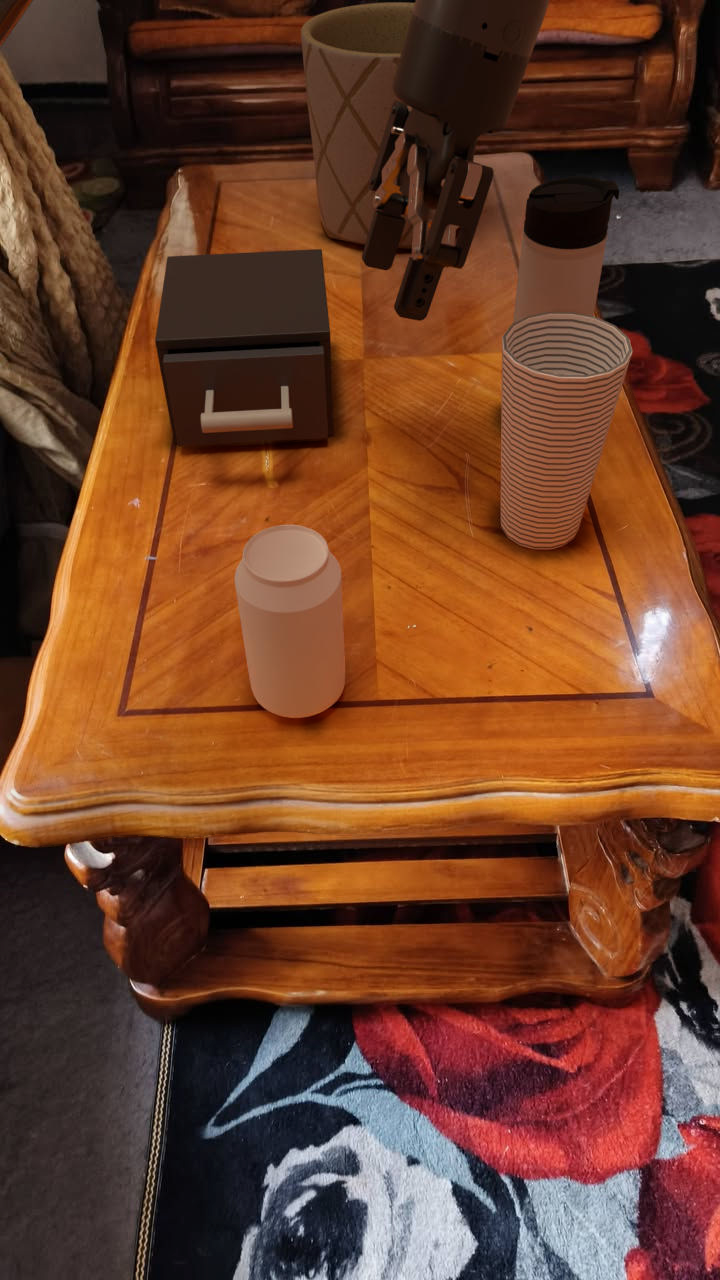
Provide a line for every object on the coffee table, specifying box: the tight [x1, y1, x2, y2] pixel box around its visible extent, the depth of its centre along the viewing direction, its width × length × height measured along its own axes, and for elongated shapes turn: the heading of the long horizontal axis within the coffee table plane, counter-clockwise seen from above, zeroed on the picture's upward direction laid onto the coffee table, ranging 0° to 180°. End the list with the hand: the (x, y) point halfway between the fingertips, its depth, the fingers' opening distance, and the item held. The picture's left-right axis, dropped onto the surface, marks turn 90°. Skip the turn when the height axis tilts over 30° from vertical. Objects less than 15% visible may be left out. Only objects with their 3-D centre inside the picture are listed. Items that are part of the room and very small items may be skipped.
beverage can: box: [234, 524, 346, 719], centre depth 59 cm, size 6×6×12 cm
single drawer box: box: [154, 248, 335, 445], centre depth 84 cm, size 15×14×10 cm
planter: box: [300, 1, 430, 250], centre depth 105 cm, size 19×19×20 cm
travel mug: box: [512, 176, 620, 324], centre depth 76 cm, size 6×7×20 cm
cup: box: [500, 312, 634, 551], centre depth 68 cm, size 8×8×16 cm
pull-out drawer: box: [163, 342, 329, 447], centre depth 81 cm, size 18×13×8 cm
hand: (391, 290), depth 67 cm, fingers open, 8 cm apart
